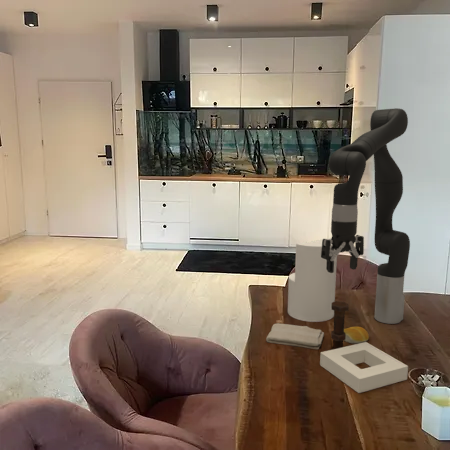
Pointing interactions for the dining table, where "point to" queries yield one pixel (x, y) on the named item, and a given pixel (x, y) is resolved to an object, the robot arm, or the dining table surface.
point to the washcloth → (295, 336)
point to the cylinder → (311, 284)
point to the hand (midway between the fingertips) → (341, 270)
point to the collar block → (369, 377)
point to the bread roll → (356, 335)
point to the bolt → (338, 323)
